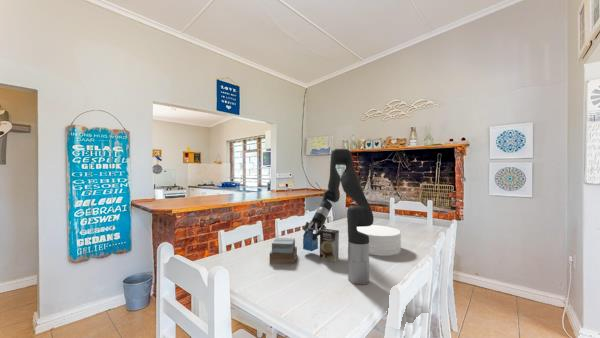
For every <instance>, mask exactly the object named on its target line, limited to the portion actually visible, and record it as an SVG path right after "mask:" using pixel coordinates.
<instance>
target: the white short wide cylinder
mask: <svg viewBox="0 0 600 338" xmlns="http://www.w3.org/2000/svg"><path fill="white" fill-rule="evenodd" d="M357 231H359V232H361V233H364V234H366V235H368V236H369V255H372V256H381V257H383V256H384V257H385V256H395V255H399V254H400V253H401V250H402V249H401V248H402V247H401V245H402V244H401V243H402V242H401V241H402V240H401V234H402V233H401V231H400V230H399V229H397V228H394V227H392V226H391V227H390V226H386V225H378V224H377V225H376V224H374V225H373V224H372V225H371V226H365V227H357Z"/></svg>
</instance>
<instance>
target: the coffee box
mask: <svg viewBox="0 0 600 338" xmlns="http://www.w3.org/2000/svg"><path fill="white" fill-rule="evenodd" d="M339 233H340V231H339V230H337V229H330V228H326V229H322V230H320V235H319V260H320V261H325V262H330V263H336V262H338V260H339V255H340V254H339V239H340V237H339V236H340V234H339Z"/></svg>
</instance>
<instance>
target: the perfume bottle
mask: <svg viewBox="0 0 600 338" xmlns="http://www.w3.org/2000/svg"><path fill="white" fill-rule="evenodd" d="M314 234H315V233H314V230H313V228H311V227H310V228H308V234H306V235H305V236H304V237H303V239H302V249H303V250H306V251H307V252H308V251H310V252H313V251H315V250H318V249H319V237H317V239H316V240H315V241H313V239H312V238H313V236H314Z"/></svg>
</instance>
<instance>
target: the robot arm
mask: <svg viewBox="0 0 600 338" xmlns="http://www.w3.org/2000/svg"><path fill="white" fill-rule="evenodd" d="M329 162H330V163H329V178H328V184H327V188H326V189H325V190H324V192H323V197H322V200H321V202H320V205H319V206H318V208H317V210H316V211H315V213H314V215H313V217H312V219H311V222H308V221H306V222H305V224H304V227H303V231H304V233H303V235H302V236H303V238H304V236H305V235H306V234H308V228H313V231H314V232H315V233H313V234H314V236H313V238H312V239H313V241H315V240H316V239H317V238H319V237H320V230H322V229H327V226H326V224H325V222H326V220H327V218H328V216H329V213H330V211H331V209H332V207H333V205H332V203H338V202H339V200H340V197H341V195H340V185H341V187H342V190H343V192H344V193H345V195H347V196H348V197H349V198H350V199H351V200H353V201H354V203H356V204H357V205H351V206H348V208H347V212H346V218H347V219H346V221H347V251H348V252H347V280H348V281H349V282H350V283H352V284H353V285H368V283H369V282H370V254H369V236H368V235H366V234H364V233H361V232H359V231H357V227H365V226H371V225H373V224H374V220H375V219H374V214H373V210H372V208H371V206H370V204H369V200H367V197H366V196H365V195H366V194H365V193H364V190H363V188H362V184H361V181H360V178H359V175H358V174H357V171H356V167H355V165H354V161H353V157H352V152H351V151H350V149H348V148H333V149H332V151H331V154H330V161H329ZM337 166H345V169H344V171H343V172H342V174H341V176H340V174H339V172H338V171H337V168H336V167H337Z"/></svg>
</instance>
